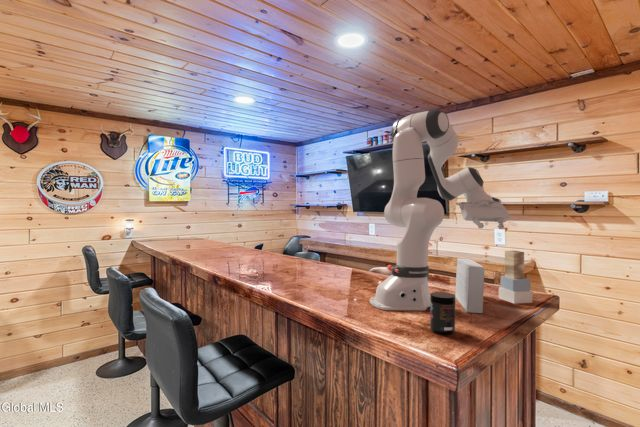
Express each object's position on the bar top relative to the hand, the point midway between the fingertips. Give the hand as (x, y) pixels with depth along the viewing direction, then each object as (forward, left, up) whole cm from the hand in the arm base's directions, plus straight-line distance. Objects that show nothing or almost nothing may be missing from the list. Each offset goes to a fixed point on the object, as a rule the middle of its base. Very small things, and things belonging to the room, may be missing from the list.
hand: (491, 227), depth 140 cm
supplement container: (-44, -37, -28) cm, 64 cm away
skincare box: (-20, -14, -28) cm, 37 cm away
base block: (+2, -12, -28) cm, 30 cm away
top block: (+2, -11, -23) cm, 26 cm away
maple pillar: (+1, -11, -19) cm, 22 cm away
